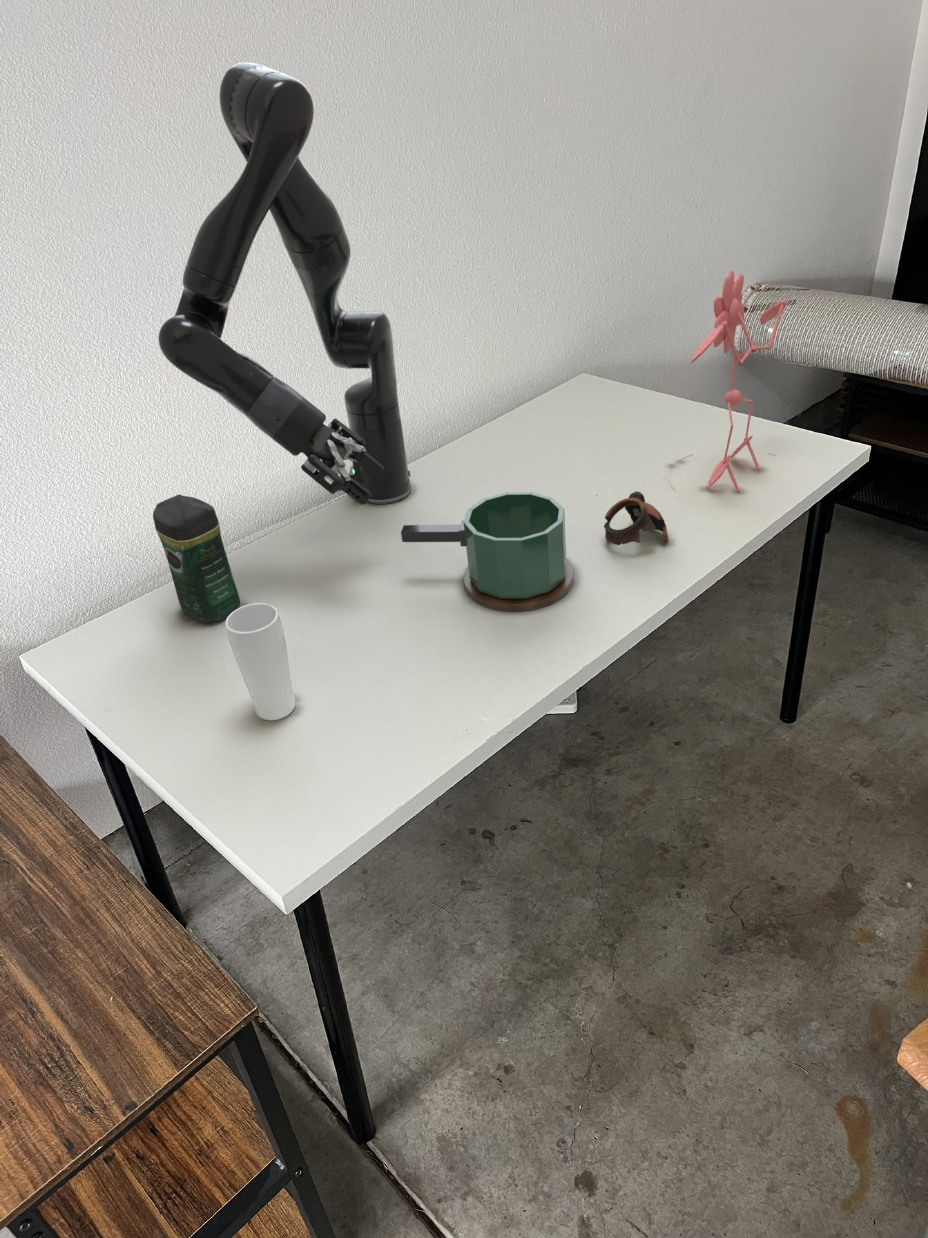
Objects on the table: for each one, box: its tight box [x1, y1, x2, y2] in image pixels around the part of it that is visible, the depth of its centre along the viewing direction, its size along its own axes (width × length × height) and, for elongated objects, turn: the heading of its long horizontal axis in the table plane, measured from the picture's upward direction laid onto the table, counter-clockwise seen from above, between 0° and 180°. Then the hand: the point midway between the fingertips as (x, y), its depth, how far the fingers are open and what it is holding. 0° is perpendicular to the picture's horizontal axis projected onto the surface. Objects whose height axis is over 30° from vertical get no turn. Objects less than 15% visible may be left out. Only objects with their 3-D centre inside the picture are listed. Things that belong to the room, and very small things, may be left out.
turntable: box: [463, 557, 575, 613], centre depth 147 cm, size 17×17×1 cm
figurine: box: [665, 270, 787, 492], centre depth 161 cm, size 15×26×35 cm, turn 144°
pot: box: [400, 491, 567, 599], centre depth 145 cm, size 25×15×10 cm, turn 81°
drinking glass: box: [224, 602, 296, 721], centre depth 123 cm, size 7×7×15 cm
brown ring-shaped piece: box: [603, 490, 669, 546], centre depth 154 cm, size 12×10×8 cm
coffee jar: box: [152, 494, 242, 624], centre depth 144 cm, size 10×8×19 cm
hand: (374, 486), depth 142 cm, fingers open, 8 cm apart
